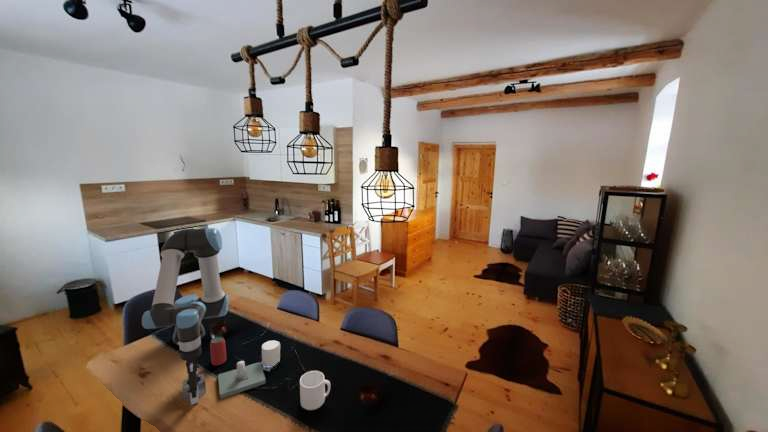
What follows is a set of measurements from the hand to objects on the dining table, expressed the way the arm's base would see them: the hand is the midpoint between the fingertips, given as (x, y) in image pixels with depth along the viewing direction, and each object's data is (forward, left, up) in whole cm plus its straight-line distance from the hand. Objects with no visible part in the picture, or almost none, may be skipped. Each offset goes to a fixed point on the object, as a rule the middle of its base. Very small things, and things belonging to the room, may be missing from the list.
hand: (195, 392), depth 128 cm
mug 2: (-6, +33, 0) cm, 34 cm away
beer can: (-18, +10, 0) cm, 21 cm away
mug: (+30, +43, 0) cm, 52 cm away
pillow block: (+2, +18, 0) cm, 18 cm away
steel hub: (0, 0, 0) cm, 0 cm away
